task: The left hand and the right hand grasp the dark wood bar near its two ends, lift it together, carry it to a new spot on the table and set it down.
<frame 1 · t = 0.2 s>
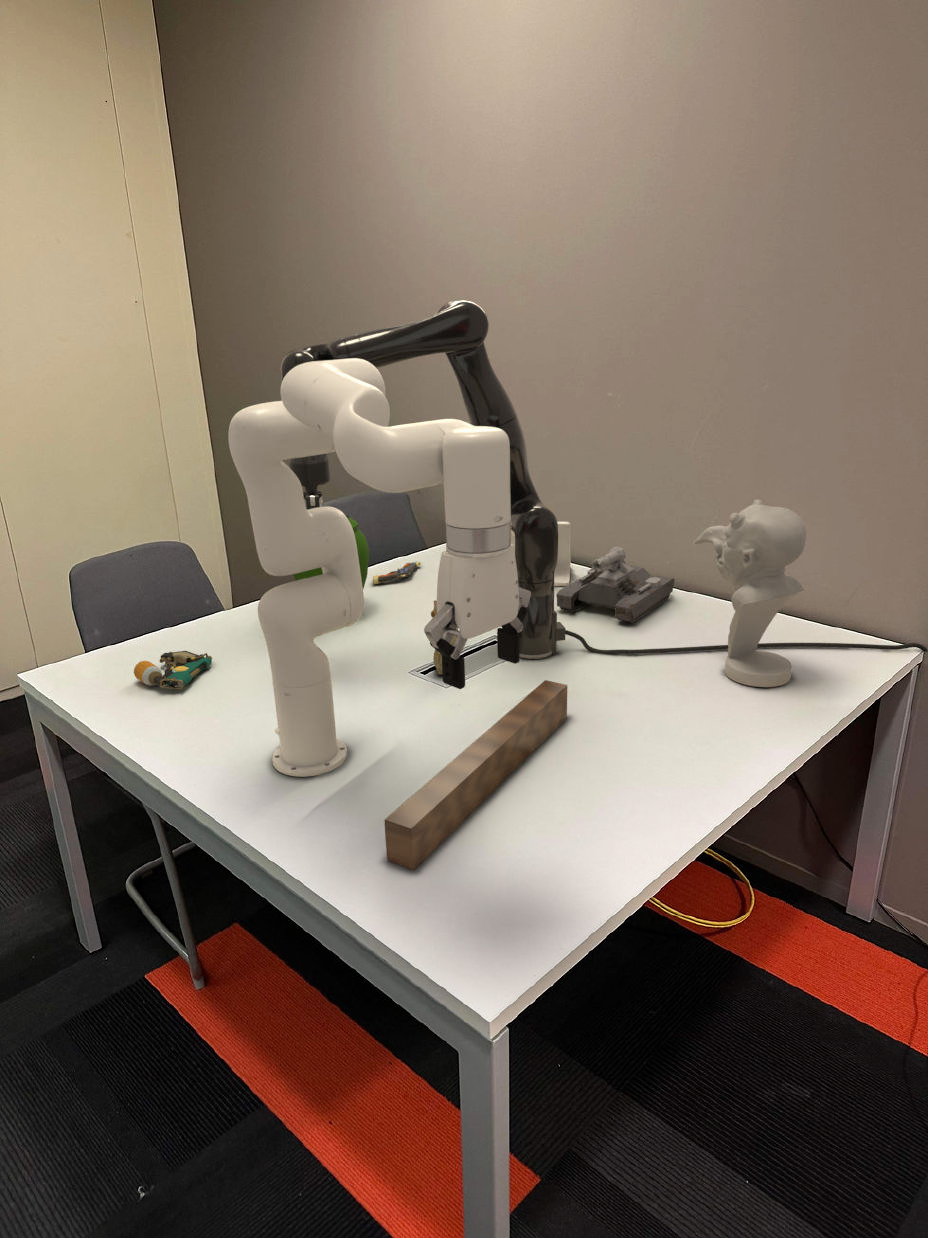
left hand: (482, 672, 104), 30 cm above the table, tool pointing down, fingers open, 9 cm apart
right hand: (316, 540, 170), 29 cm above the table, tool pointing down, fingers open, 8 cm apart
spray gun: (177, 676, 181), on the table
toy: (615, 605, 214), on the table
vase: (334, 614, 214), on the table
bust sculpture: (738, 671, 175), on the table
bar: (489, 779, 139), on the table
toy gun: (397, 576, 242), on the table
sculpture: (445, 671, 180), on the table
tablet stand: (525, 575, 239), on the table
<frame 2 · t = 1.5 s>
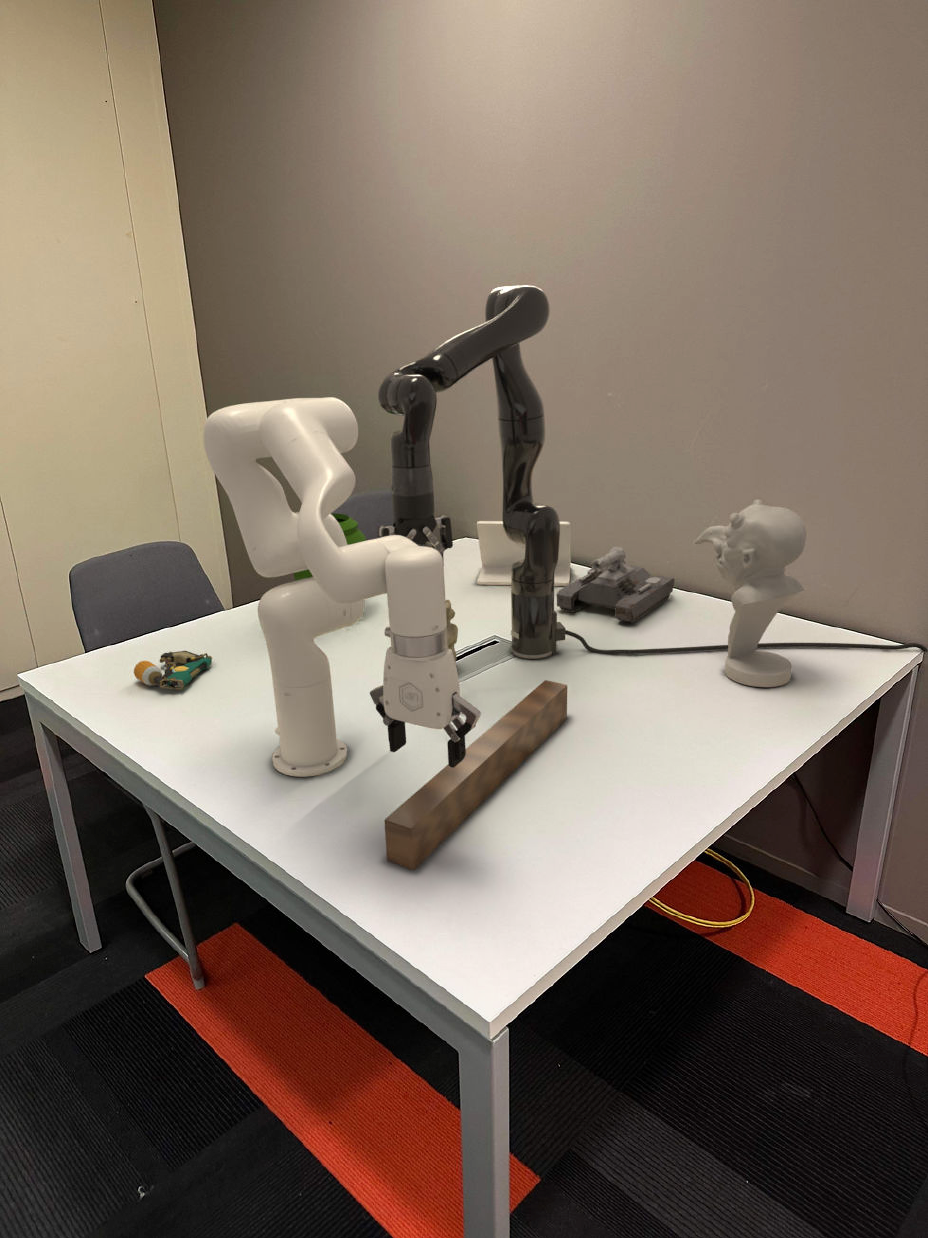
left hand: (427, 755, 119), 14 cm above the table, tool pointing down, fingers open, 9 cm apart
right hand: (417, 575, 158), 25 cm above the table, tool pointing down, fingers open, 8 cm apart
nothing on the table moved.
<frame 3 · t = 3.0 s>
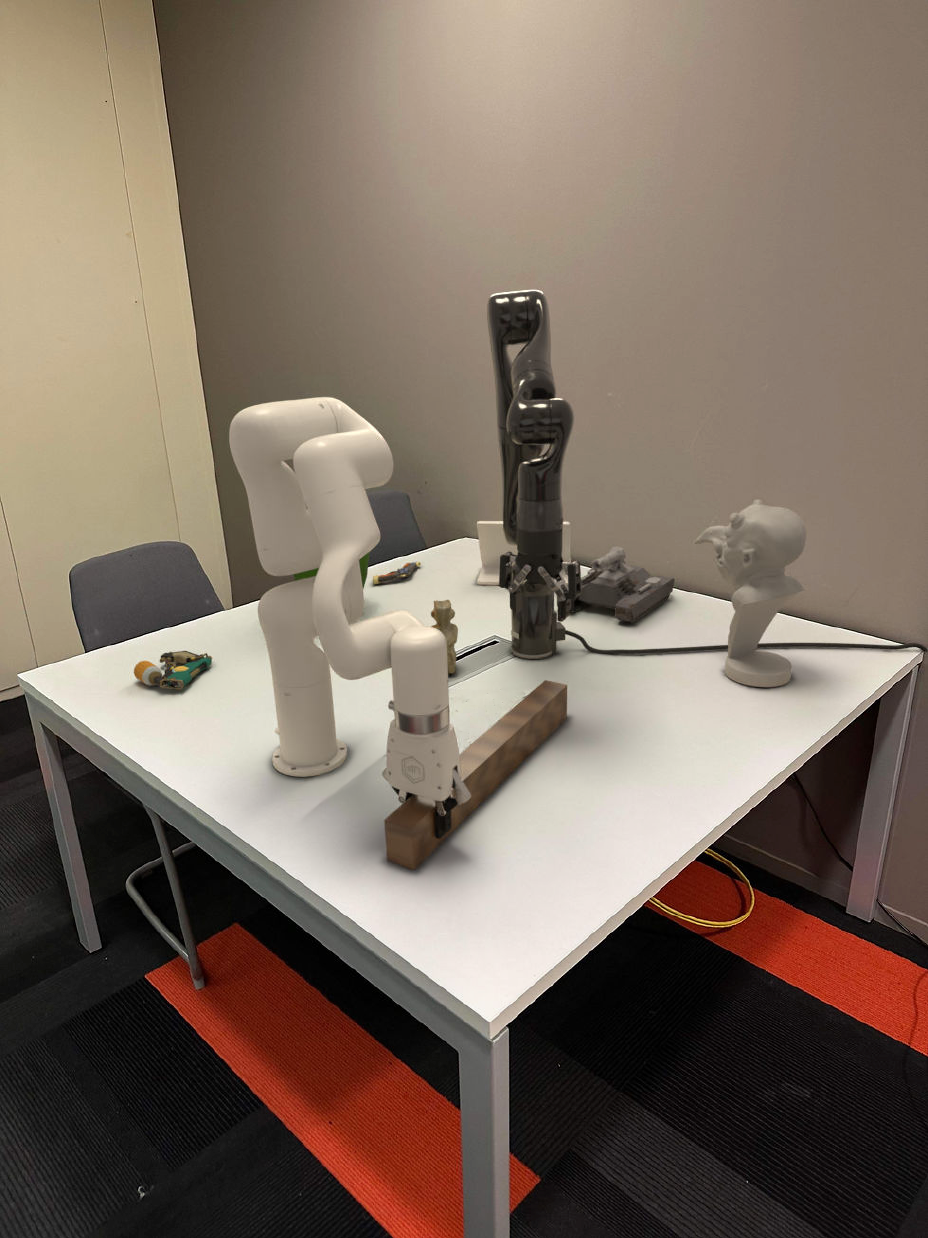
left hand: (427, 827, 123), 2 cm above the table, tool pointing down, fingers closed on bar, 4 cm apart
right hand: (539, 616, 146), 22 cm above the table, tool pointing down, fingers open, 8 cm apart
bar: (489, 779, 139), on the table, touching left hand
everything else where it was.
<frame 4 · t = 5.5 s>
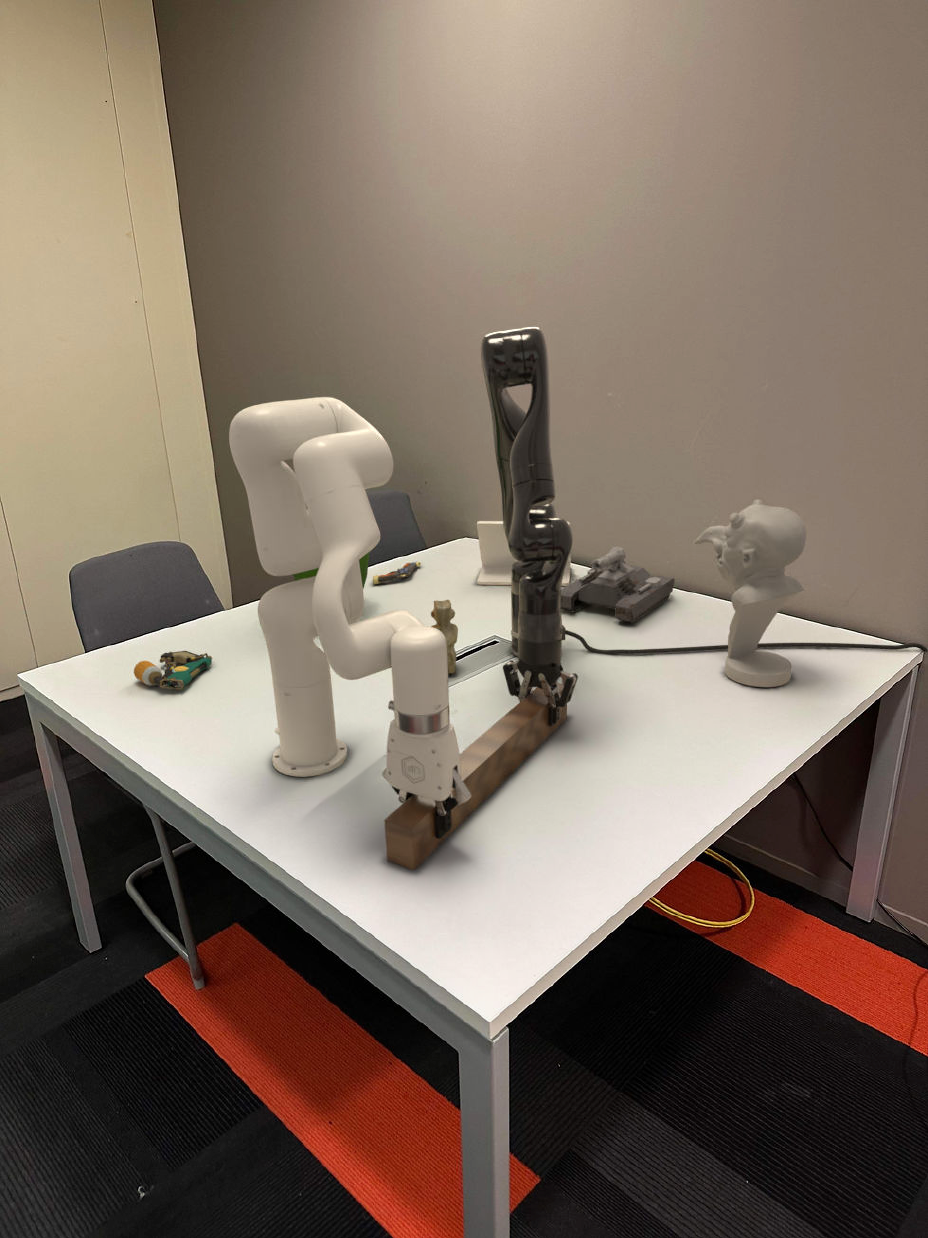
left hand: (427, 827, 123), 2 cm above the table, tool pointing down, fingers closed on bar, 4 cm apart
right hand: (539, 720, 153), 2 cm above the table, tool pointing down, fingers closed on bar, 4 cm apart
bar: (489, 779, 139), on the table, touching right hand, left hand
everything else where it was.
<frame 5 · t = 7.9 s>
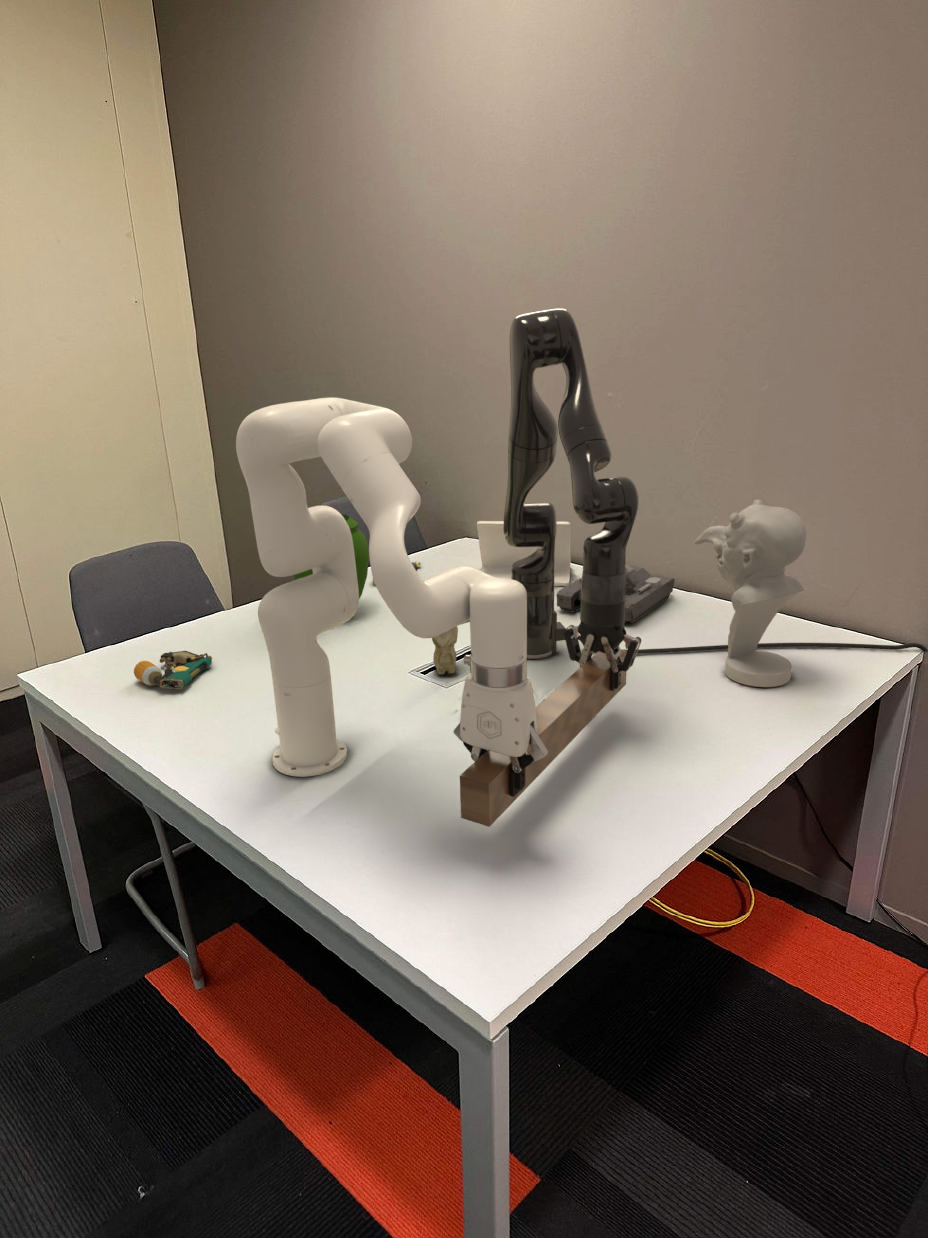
left hand: (499, 785, 121), 8 cm above the table, tool pointing down, fingers closed on bar, 4 cm apart
right hand: (600, 686, 151), 9 cm above the table, tool pointing down, fingers closed on bar, 4 cm apart
bar: (555, 741, 137), point 6 cm above the table, touching right hand, left hand
everything else where it was.
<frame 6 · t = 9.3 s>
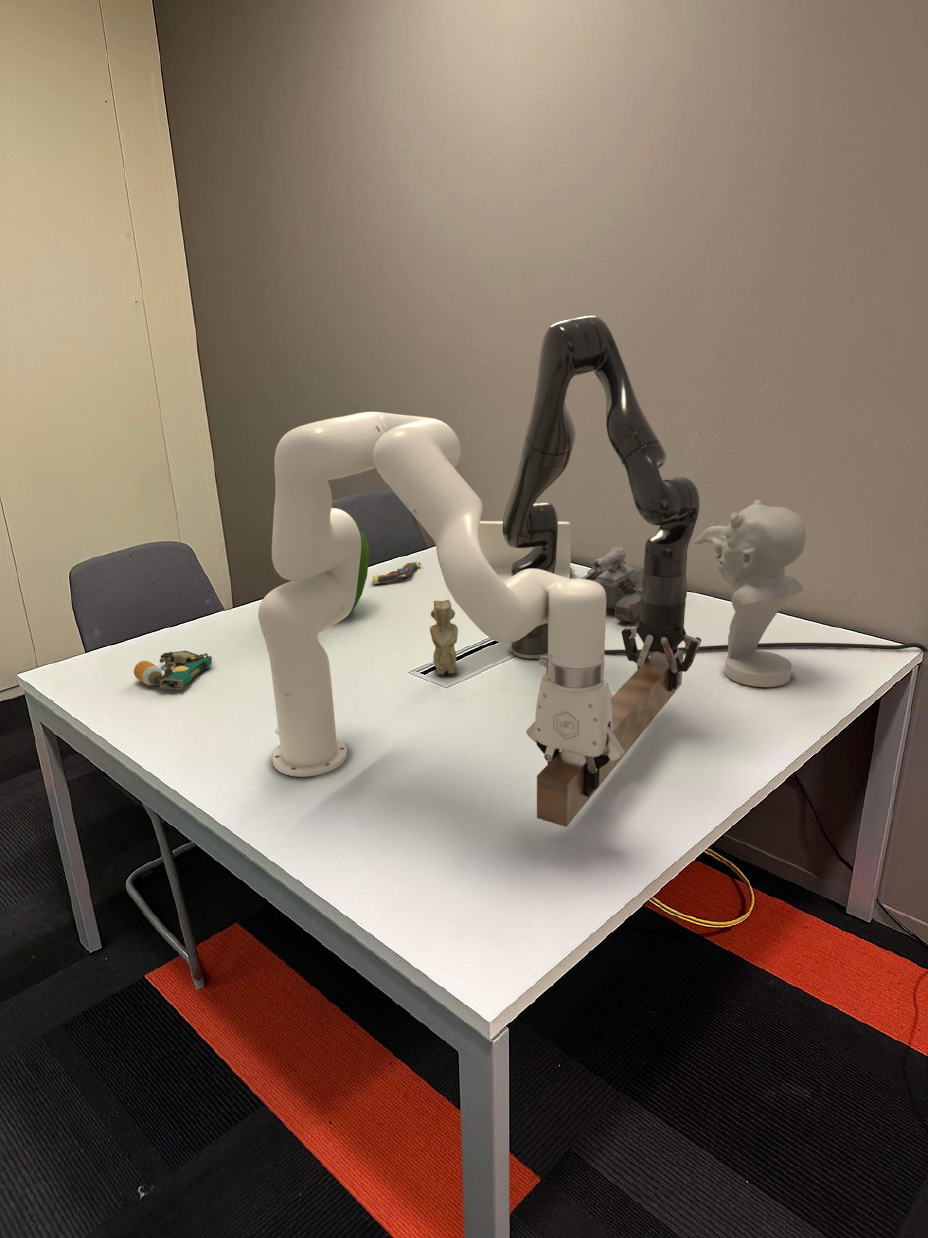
left hand: (572, 785, 122), 8 cm above the table, tool pointing down, fingers closed on bar, 4 cm apart
right hand: (657, 686, 151), 8 cm above the table, tool pointing down, fingers closed on bar, 4 cm apart
bar: (619, 742, 137), point 6 cm above the table, touching right hand, left hand
everything else where it was.
when the left hand's fingers open (4 cm above the table, at t = 10.1 s): bar drops 2 cm, on the table.
when the right hand's fingers open (4 cm above the table, at t = 10.1 s): bar drops 2 cm, on the table.
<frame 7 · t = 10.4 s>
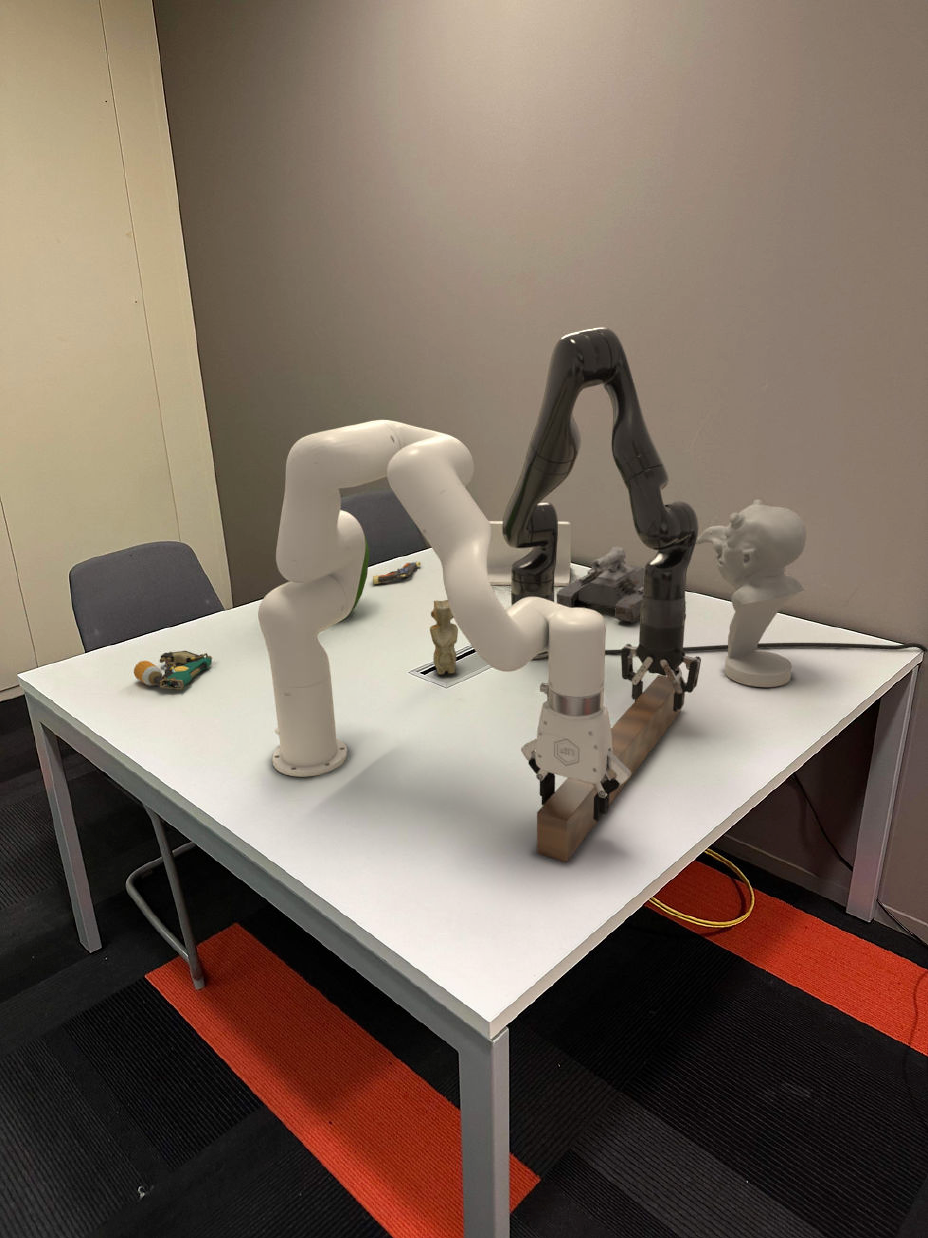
left hand: (573, 807, 123), 4 cm above the table, tool pointing down, fingers open, 7 cm apart
right hand: (657, 705, 152), 4 cm above the table, tool pointing down, fingers open, 6 cm apart
bar: (618, 773, 139), on the table
everything else where it was.
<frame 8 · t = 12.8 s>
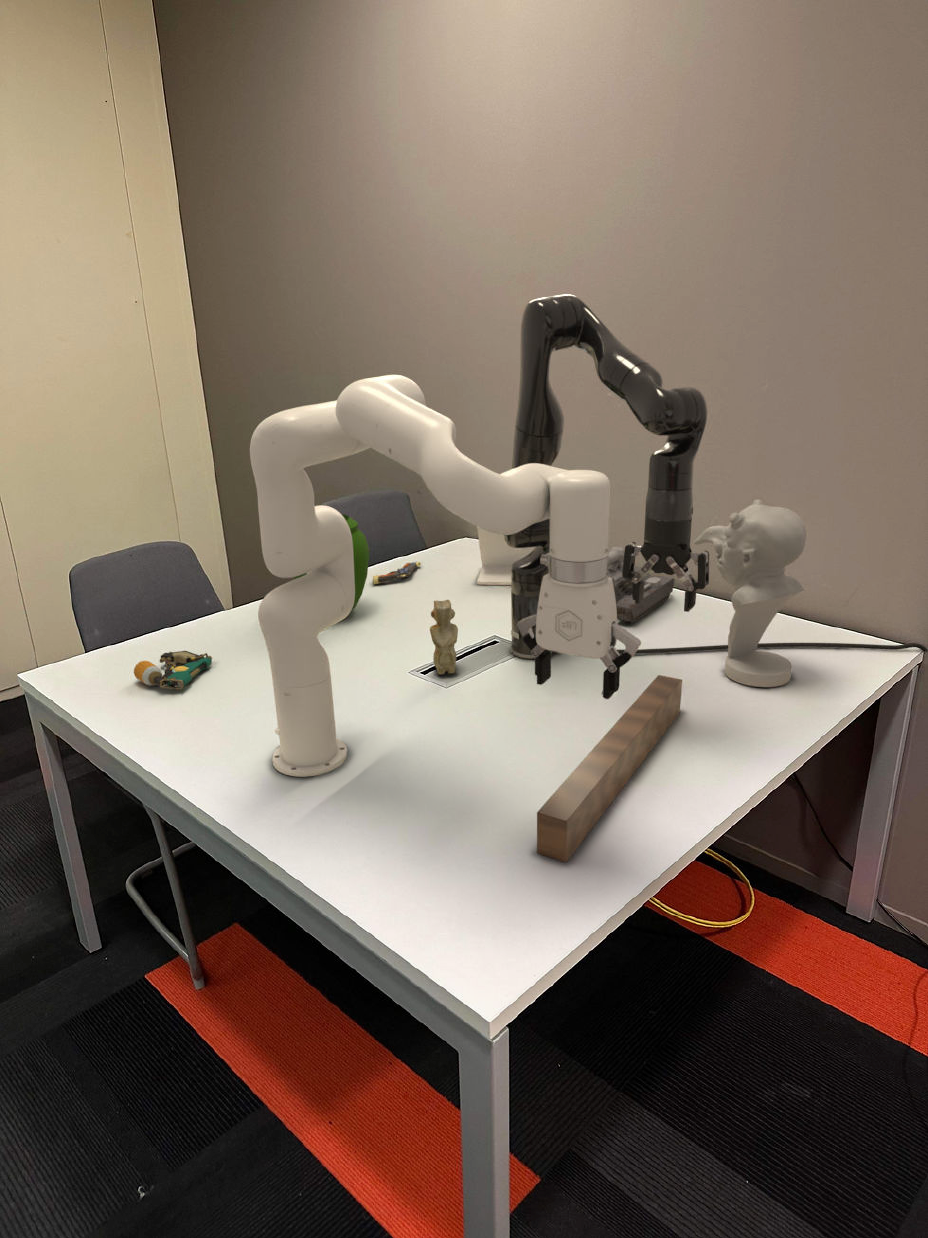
left hand: (576, 687, 116), 23 cm above the table, tool pointing down, fingers open, 9 cm apart
right hand: (663, 606, 146), 23 cm above the table, tool pointing down, fingers open, 8 cm apart
nothing on the table moved.
at the end: bar inside the target area (0.3 cm from its centre), on the table; bar tilted 0°; bar never tilted more than 2° during the clip; both hands held the bar at the same time; the left hand is holding nothing; the right hand is holding nothing; bar at rest at the end (0.0 cm/s) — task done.
